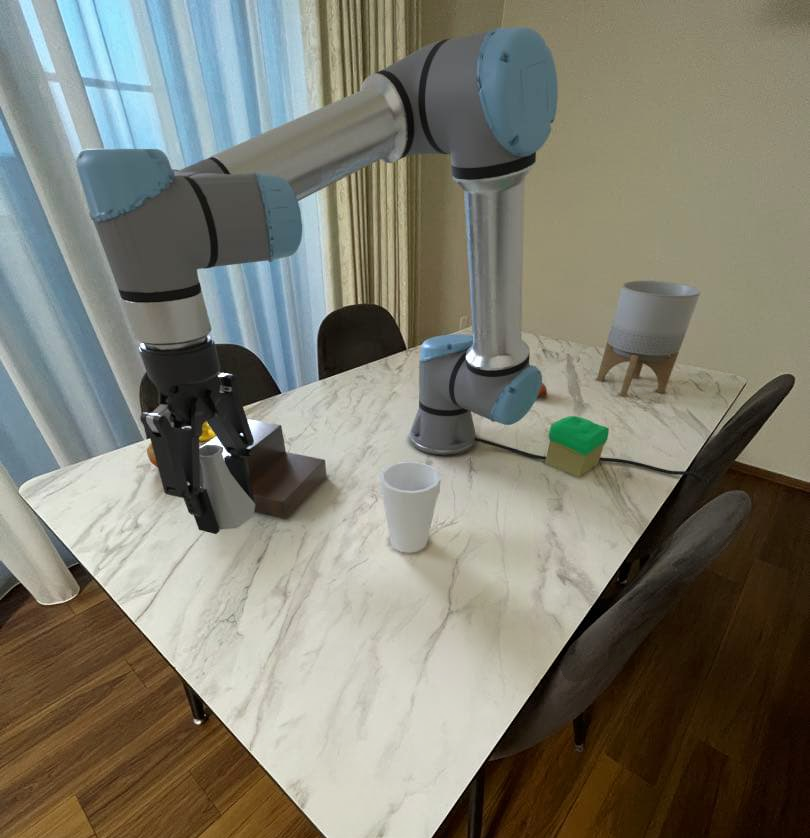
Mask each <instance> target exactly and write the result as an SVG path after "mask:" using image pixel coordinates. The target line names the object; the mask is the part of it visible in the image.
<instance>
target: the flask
mask: <svg viewBox="0 0 810 838" xmlns="http://www.w3.org/2000/svg"><path fill="white" fill-rule="evenodd" d="M202 446H203V445H202ZM200 447H201V446H200ZM200 447H199V456H200V463H201V466H202V472H203V488H204V489H207V493H208V496H209V499H210V502H211V505H212V508H213V511H214V514H215V517H216V521H217V524H218V527H219V530H232V529H234V530H235V529H238V528H240V527H241V526H243V525H244V524H245V523H246V522H248V521H250V519H252V518H253V517H254V513H255V512H254V509H255V504H254V502H253V501H252V500H251V498H250V497H249V496H248V495H247V494H246V492H245V491H244V490H243V489H242V488H241V486H240V485H239V484H238V482H237V481H236V480H235V479H234V477H233V476H232V475H231V473H230V471H229V470H228V468H227V466H226V464H225V462H224V459H223V455H222V453H223V447H221V446H218V445H205V446H203V447H201V448H200Z"/></svg>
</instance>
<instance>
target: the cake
mask: <svg viewBox="0 0 810 838" xmlns="http://www.w3.org/2000/svg"><path fill="white" fill-rule="evenodd" d="M609 431H610V428H609V427H607V426H604V425H600V424H598V423H595V422H593V421H591V420H590V419H587V418H584V417H580V416H578V415H570V416H569V415H568V416H566V417H564V418H561V419H558V420H557V421H555V422H553V423H552V424H551V425H550V427H549V433H548V441H549V442H548V446H547V452H546V455H545V457H546V460H544V464H546V465H548V466H551V467H554V468H556V469H559V470H561V471H563V472H566V473H567V474H570V475H572V476H575V477H577V478H580V477H581V476H583V475H584V474H585V473H587V472H589V471H590V470H591V469H593V468H594V467H595V466H597V465H598V464H599V463H600V461H599V459H600V457H601V456H602V452H603V449H604V446H605V444H606V443H607V441H608V437H609Z"/></svg>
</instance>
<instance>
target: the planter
mask: <svg viewBox="0 0 810 838" xmlns="http://www.w3.org/2000/svg"><path fill="white" fill-rule="evenodd" d="M701 293H702V291H701V289H699V288H697V287H695V286H693V285H688V284H684V283H679V282H672V281H662V280H632V281H631V280H630V281H626V282H624V283H622V285H621V289H620V292H619V296H618V300H617V304H616V307H615V311H614V314H613V318H612V322H611V325H610V329H609V333H608V335H607V336H608V337H607V341H606V344H605V347H604V350H603V351H604V352H603V354H602V355H603V356H602V358H601V363H600V367H599V369H598V373H597V374H598V375H597V378H596V381H600V382H604V381H605V378H606V377H607V374H608V373H609V372H610V370H611V369H613V368H614V367H616V366H617V365H619V364H622V363H626V362H629V363H628V367H627V370H626V373H625V376H624V379H623V383H622V386H621V389H620V393H619V397H624V398H626V396H627V395H628V392H629V388H630V386H631V383H632V380H633V379H637V380H638V379H639V378H640V375H641V372H642V369H643V366H644V365H645V366H647V367H649V368H650V369H651V370H652V372H653V373H654V374H655V376H656V381H657V389H656V393H657V394H664V393H665V391H666V389H667V386H668V383H669V380H670V378H671V375H672V372H673V369H674V366H675V364H676V362H677V358H678V356H679V352H680V350H681V347H682V344H683V341H684V339H685V337H686V334H687V331H688V328H689V325H690V323H691V320H692V317H693V314H694V312H695V309H696V307H697V305H698V301H699V298H700V296H701Z"/></svg>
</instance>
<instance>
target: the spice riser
mask: <svg viewBox="0 0 810 838" xmlns="http://www.w3.org/2000/svg"><path fill="white" fill-rule="evenodd" d="M247 421H248V424H249V427H250V430H251V433H252V436H253V439H254V443H253V445H252V446H248V448H247V449H251V450H252V455H251V457H246V460H247V464H248V468H249V475H248V476H249V480H250V484H251V488H252V492H253V496H254V499H253V500H252V501H253V502H254V504H255V509H254V513H256V514H262V515H266V516H270V517H274V518H279V519H282V520H288V518H290V516H292V515H293V513H295V511H296V510H297V509H298V508H299V507H300V506H301V505H302V504H303V503H304V501H305V500H306V499H307V498H308V497H309V496H310V495H311V494H312V493H313V492H314V491H315V490H316V489H317V488H318V487H319V485H321V483H322V482H323V481H324V480H325V479H326V478H327V476H328V475H327V467H326V459H323V458H318V457H313V456H308V455H303V454H302V455H301V454H298V453H293V452H287V451H286V445H285V439H284V432H283V427H282V424H277V423H272V422H266V421H261V420H256V419H250V418H247ZM240 434H241V435H243V434H242V433H240ZM205 445H218V446H221V447H223V445H222V444H221V442H220V441H219V439H218V438H217V436H216V437H215V438H213V439H212V440H209V441H206V443H204V444H203V445H201V446H199V448H201V447H203V446H205ZM222 455H223V459H224V457H226V456H227V455H229V456H231V454H230V453H227V451H226V450H225V448H224V447H223V453H222ZM224 462H225V460H224ZM200 488H203V472H202V466H201V463H200Z"/></svg>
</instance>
